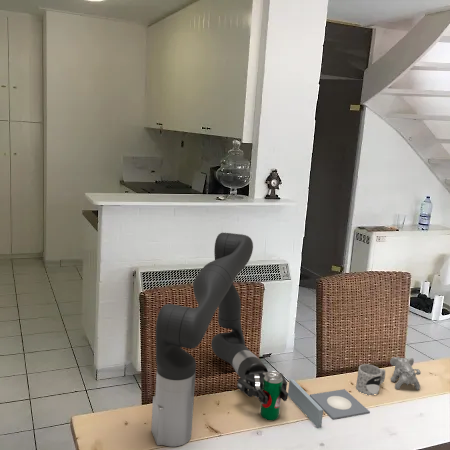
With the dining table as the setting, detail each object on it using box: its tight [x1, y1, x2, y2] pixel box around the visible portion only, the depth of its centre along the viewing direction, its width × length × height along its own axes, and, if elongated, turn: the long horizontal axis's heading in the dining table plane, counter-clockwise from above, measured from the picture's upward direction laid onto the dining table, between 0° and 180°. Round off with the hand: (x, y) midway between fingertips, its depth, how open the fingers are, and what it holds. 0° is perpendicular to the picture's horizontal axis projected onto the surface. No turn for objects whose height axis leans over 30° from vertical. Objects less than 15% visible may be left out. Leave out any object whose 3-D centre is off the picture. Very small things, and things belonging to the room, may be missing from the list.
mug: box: [355, 363, 386, 396], centre depth 151 cm, size 10×7×7 cm, turn 120°
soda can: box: [259, 370, 283, 422], centre depth 133 cm, size 5×5×12 cm
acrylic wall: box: [287, 378, 324, 429], centre depth 137 cm, size 1×16×5 cm, turn 21°
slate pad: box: [309, 388, 371, 421], centre depth 142 cm, size 12×12×1 cm
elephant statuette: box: [389, 356, 422, 391], centre depth 157 cm, size 9×12×8 cm
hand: (276, 399), depth 130 cm, fingers closed on soda can, 5 cm apart
